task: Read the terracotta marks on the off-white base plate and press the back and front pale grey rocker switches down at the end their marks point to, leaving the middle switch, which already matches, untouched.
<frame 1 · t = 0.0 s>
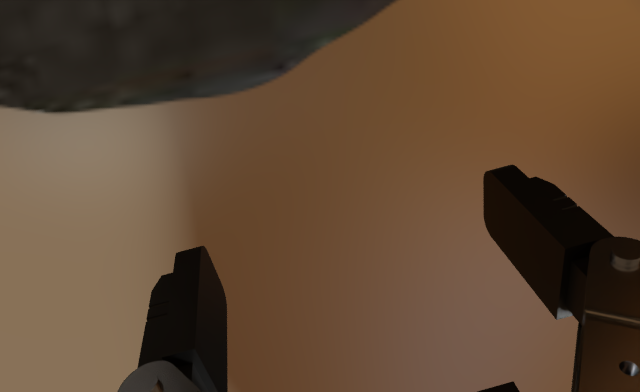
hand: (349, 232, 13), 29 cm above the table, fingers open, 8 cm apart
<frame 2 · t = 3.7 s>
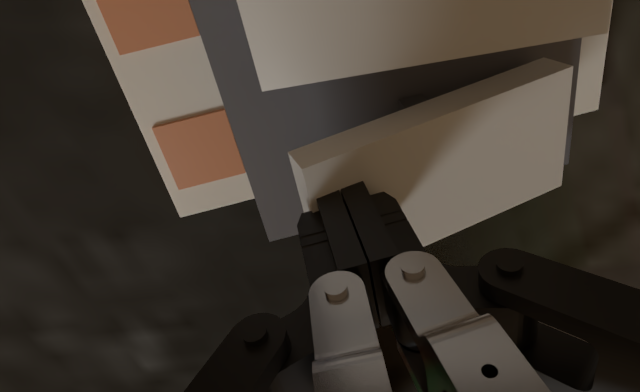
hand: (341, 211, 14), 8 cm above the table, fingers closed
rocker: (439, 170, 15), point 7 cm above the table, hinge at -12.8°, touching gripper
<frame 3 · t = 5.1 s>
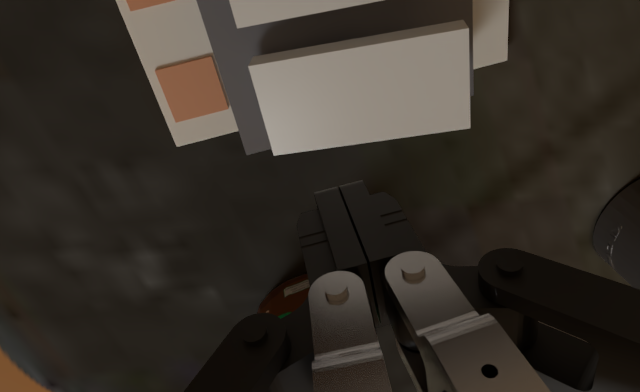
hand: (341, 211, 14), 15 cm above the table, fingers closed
food container: (279, 317, 38), on the table
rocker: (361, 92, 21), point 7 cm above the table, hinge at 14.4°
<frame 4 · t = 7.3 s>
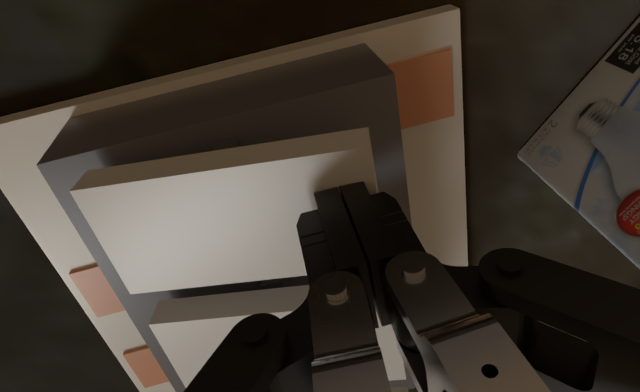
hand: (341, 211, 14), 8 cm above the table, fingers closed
rocker middle: (282, 339, 18), point 7 cm above the table, hinge at 13.0°
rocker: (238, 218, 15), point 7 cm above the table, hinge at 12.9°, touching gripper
light bulb box: (622, 102, 24), on the table
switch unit: (271, 232, 24), on the table
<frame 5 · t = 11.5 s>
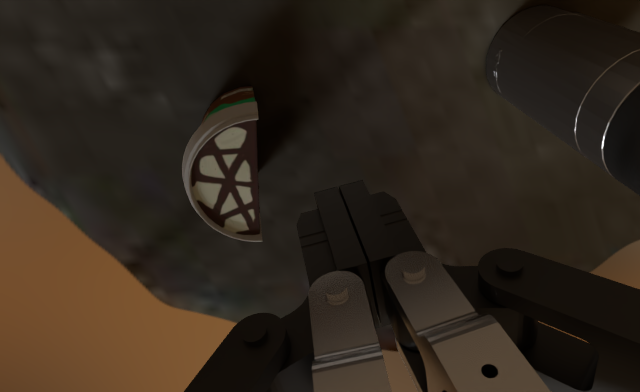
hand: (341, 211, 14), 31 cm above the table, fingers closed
food container: (221, 132, 46), on the table
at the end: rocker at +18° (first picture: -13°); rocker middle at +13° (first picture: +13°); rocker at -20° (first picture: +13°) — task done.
